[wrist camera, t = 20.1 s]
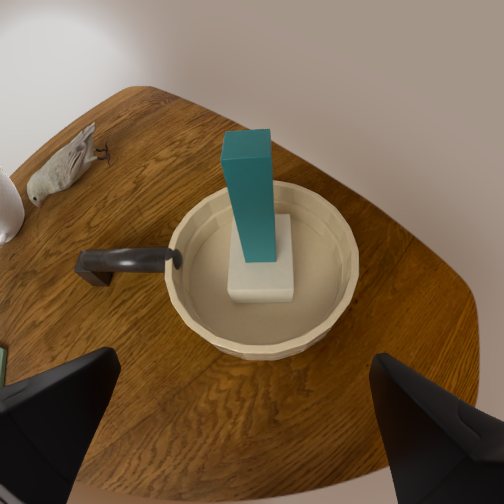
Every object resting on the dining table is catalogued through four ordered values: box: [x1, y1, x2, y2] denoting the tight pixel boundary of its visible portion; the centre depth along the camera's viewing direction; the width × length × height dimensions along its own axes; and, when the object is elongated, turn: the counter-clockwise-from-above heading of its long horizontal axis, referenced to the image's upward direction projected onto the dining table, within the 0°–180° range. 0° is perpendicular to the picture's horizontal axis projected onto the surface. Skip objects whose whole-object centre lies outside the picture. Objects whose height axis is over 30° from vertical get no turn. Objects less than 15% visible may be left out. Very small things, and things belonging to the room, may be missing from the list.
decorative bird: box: [27, 122, 110, 208], centre depth 32 cm, size 5×16×8 cm, turn 121°
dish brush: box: [221, 129, 294, 303], centre depth 19 cm, size 7×5×14 cm
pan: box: [165, 180, 359, 360], centre depth 23 cm, size 15×15×4 cm
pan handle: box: [74, 246, 183, 286], centre depth 24 cm, size 2×12×5 cm, turn 88°
